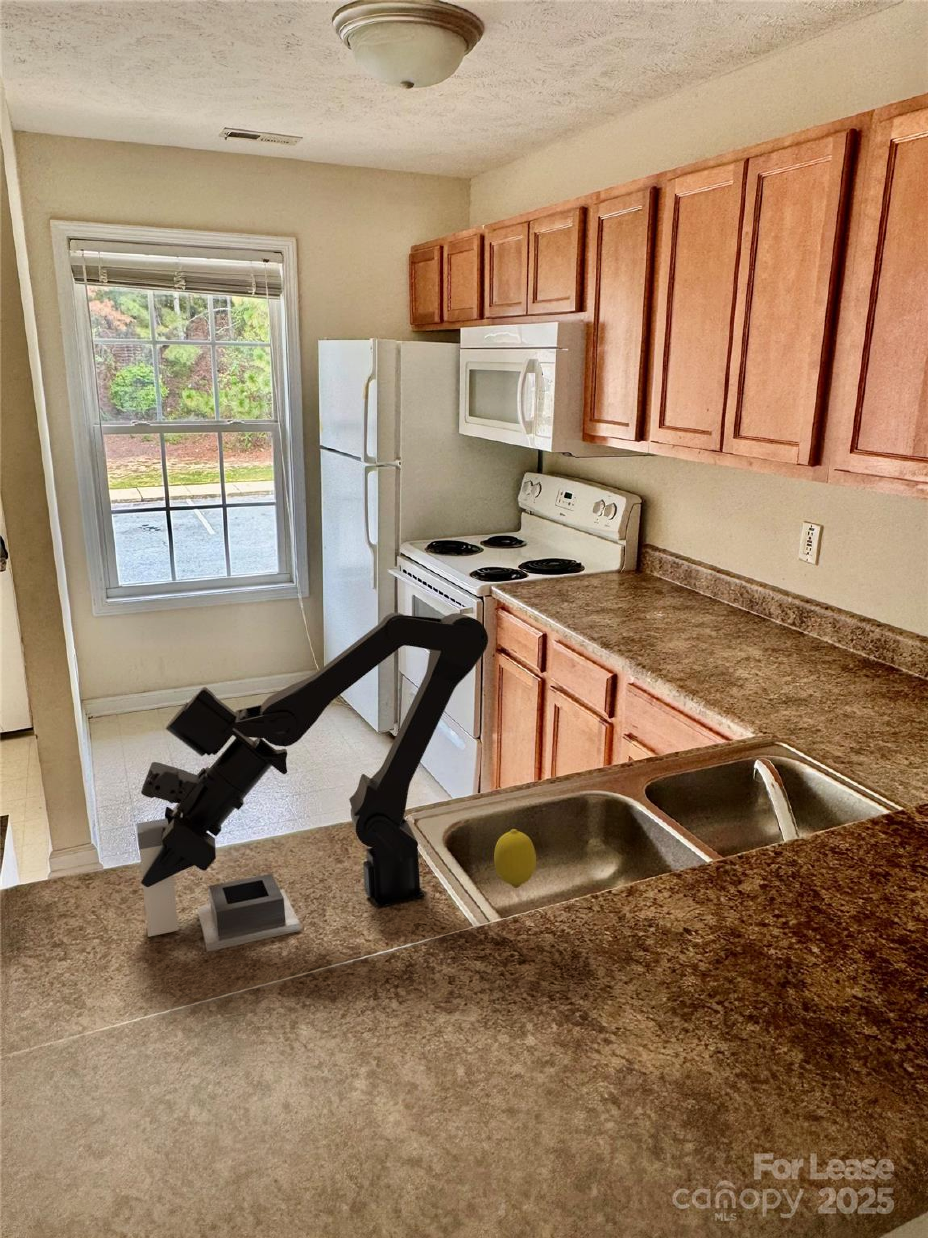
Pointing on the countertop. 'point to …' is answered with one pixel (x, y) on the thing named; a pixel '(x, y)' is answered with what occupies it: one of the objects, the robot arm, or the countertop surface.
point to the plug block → (162, 893)
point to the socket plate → (246, 912)
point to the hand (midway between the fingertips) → (145, 877)
